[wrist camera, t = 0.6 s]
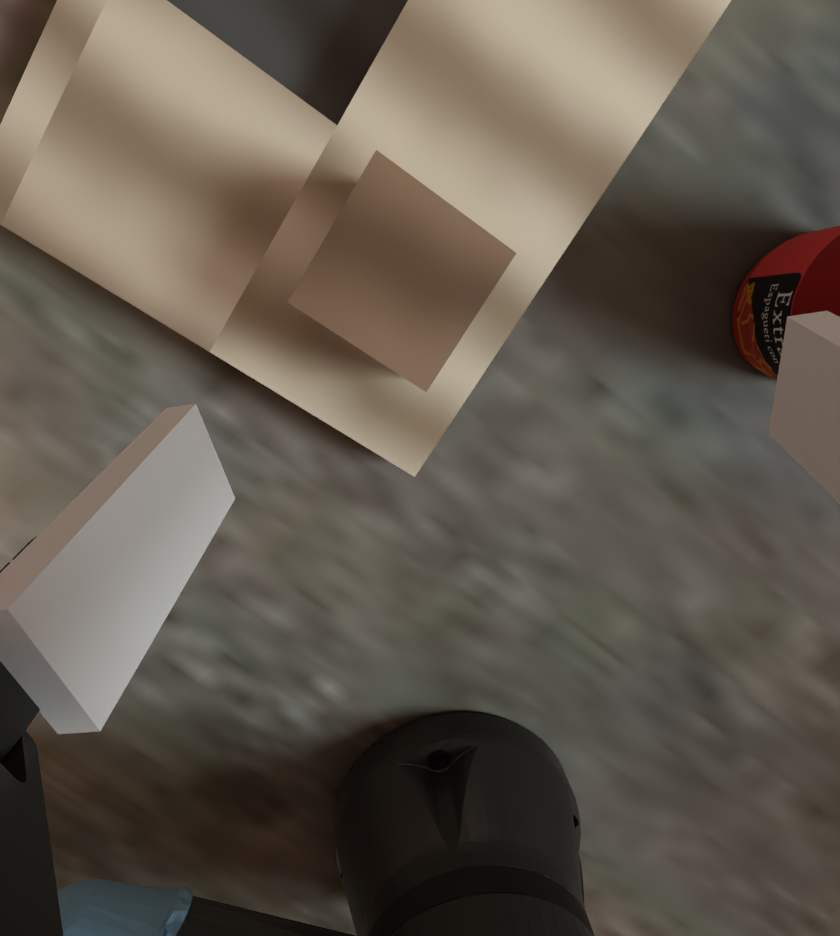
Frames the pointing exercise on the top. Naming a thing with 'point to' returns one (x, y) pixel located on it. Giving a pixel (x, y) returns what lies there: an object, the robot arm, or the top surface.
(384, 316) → the walnut block
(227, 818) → the top surface
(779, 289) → the canned food
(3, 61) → the top surface
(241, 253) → the trap deck
